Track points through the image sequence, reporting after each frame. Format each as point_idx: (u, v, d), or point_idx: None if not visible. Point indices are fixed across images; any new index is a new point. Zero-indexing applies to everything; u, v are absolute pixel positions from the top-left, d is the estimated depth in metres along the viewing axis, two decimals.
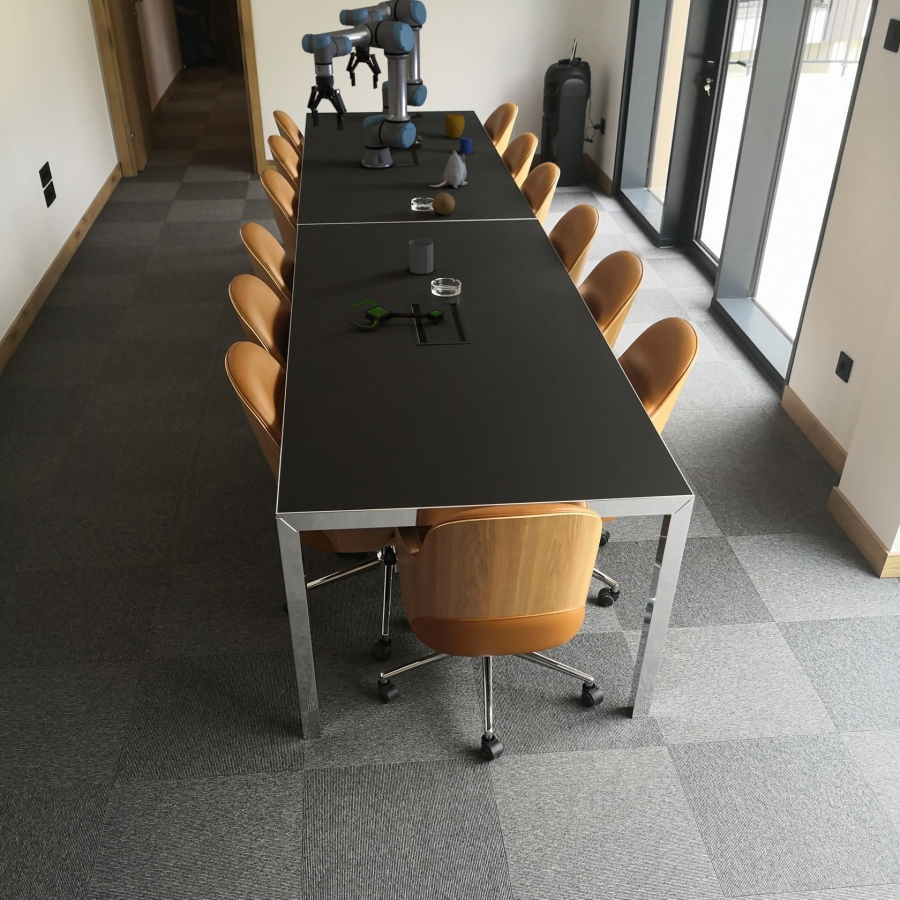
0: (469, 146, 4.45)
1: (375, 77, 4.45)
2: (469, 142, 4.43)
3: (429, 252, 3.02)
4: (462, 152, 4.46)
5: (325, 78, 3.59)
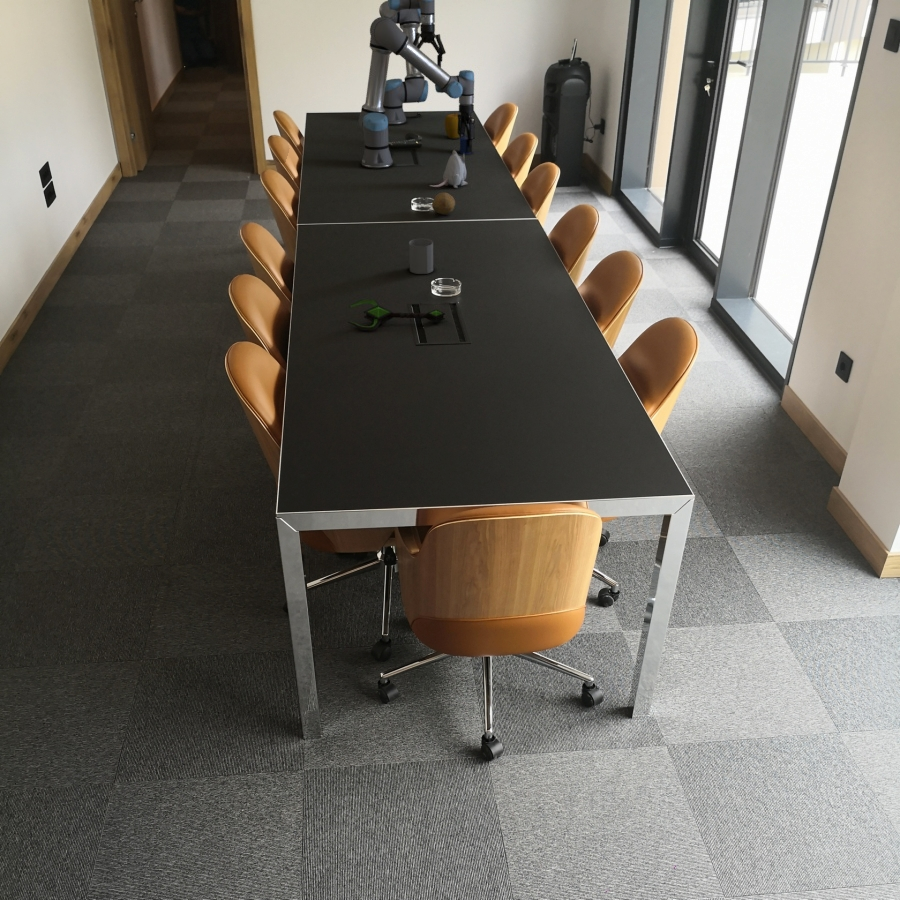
0: None
1: (439, 57, 4.58)
2: None
3: (429, 252, 3.02)
4: (462, 152, 4.46)
5: None
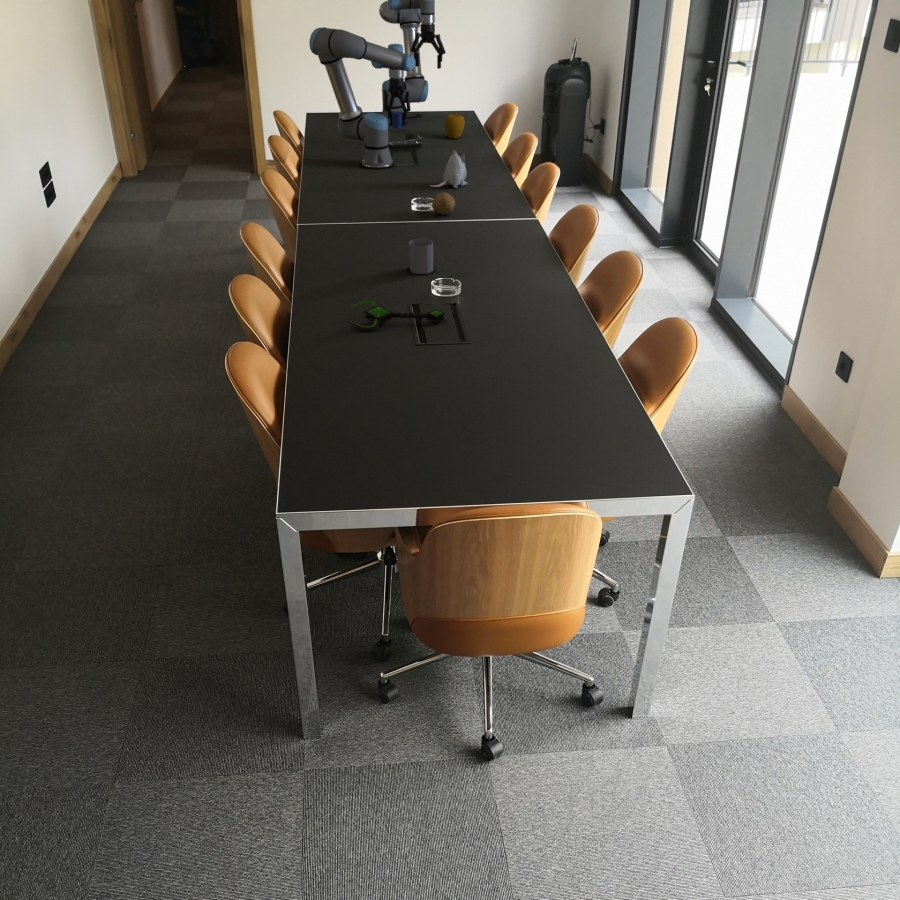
0: None
1: (439, 57, 4.58)
2: None
3: (429, 252, 3.02)
4: (398, 126, 4.48)
5: None
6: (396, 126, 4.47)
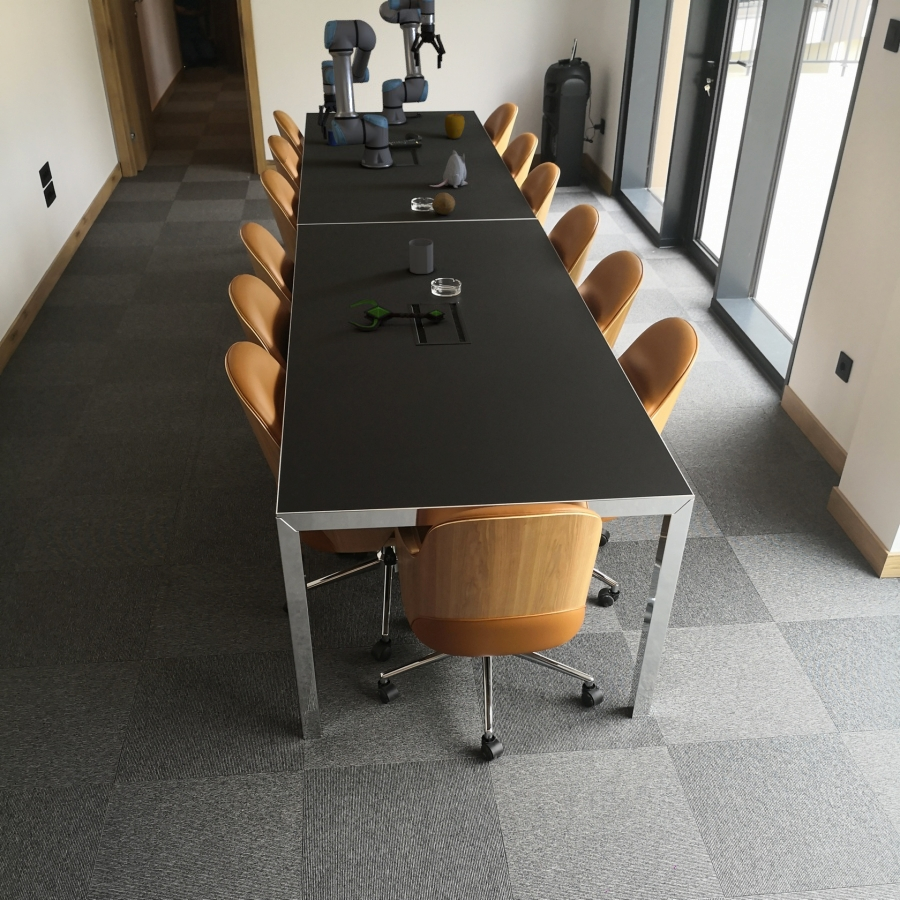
0: None
1: (439, 57, 4.58)
2: None
3: (429, 252, 3.02)
4: None
5: None
6: (336, 143, 4.61)
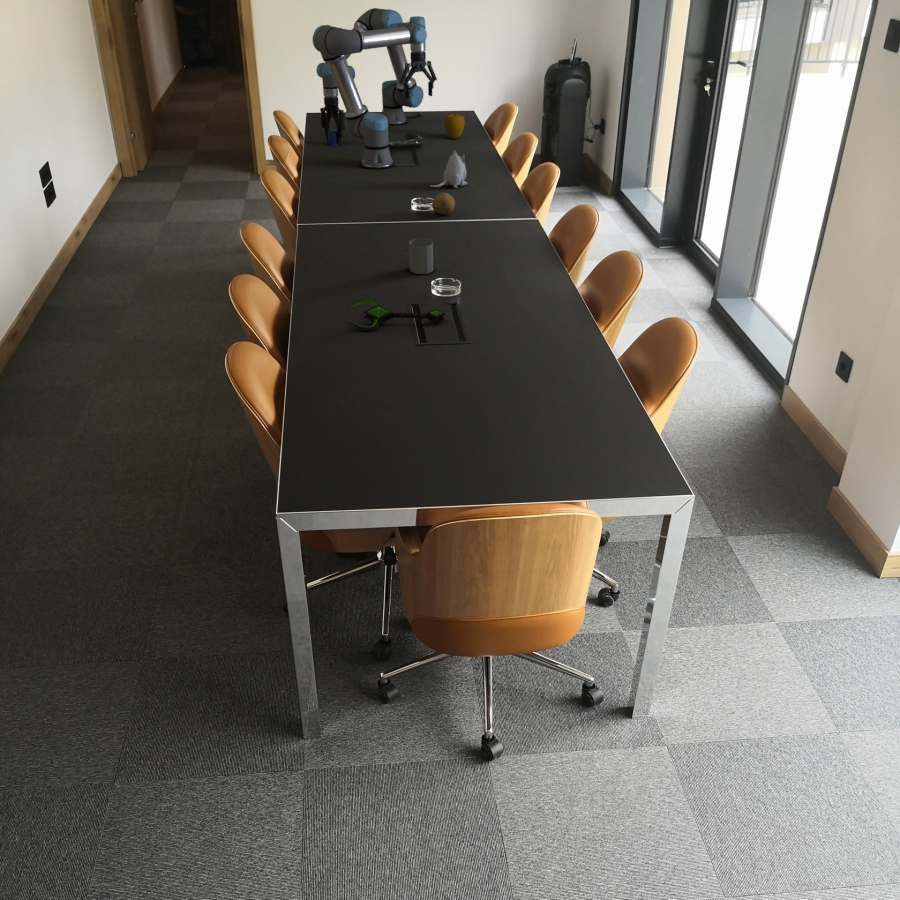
0: None
1: (339, 133, 4.58)
2: None
3: (429, 252, 3.02)
4: None
5: None
6: (336, 143, 4.61)
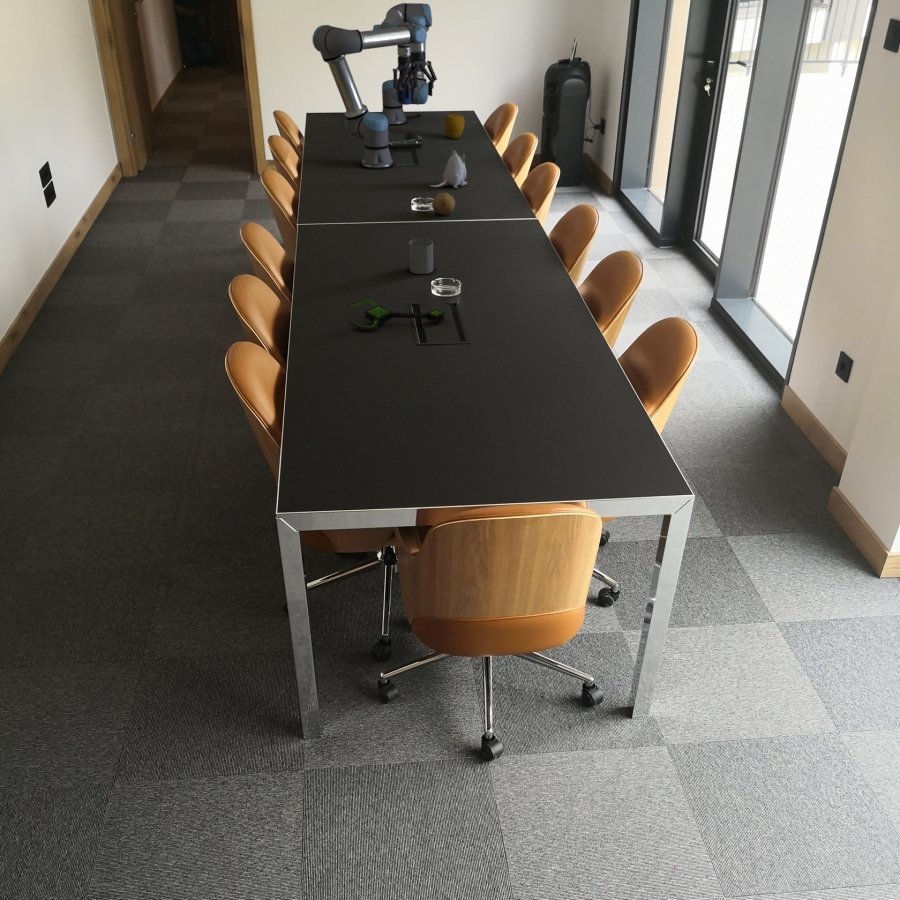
0: None
1: (413, 90, 4.69)
2: None
3: (429, 252, 3.02)
4: None
5: None
6: None
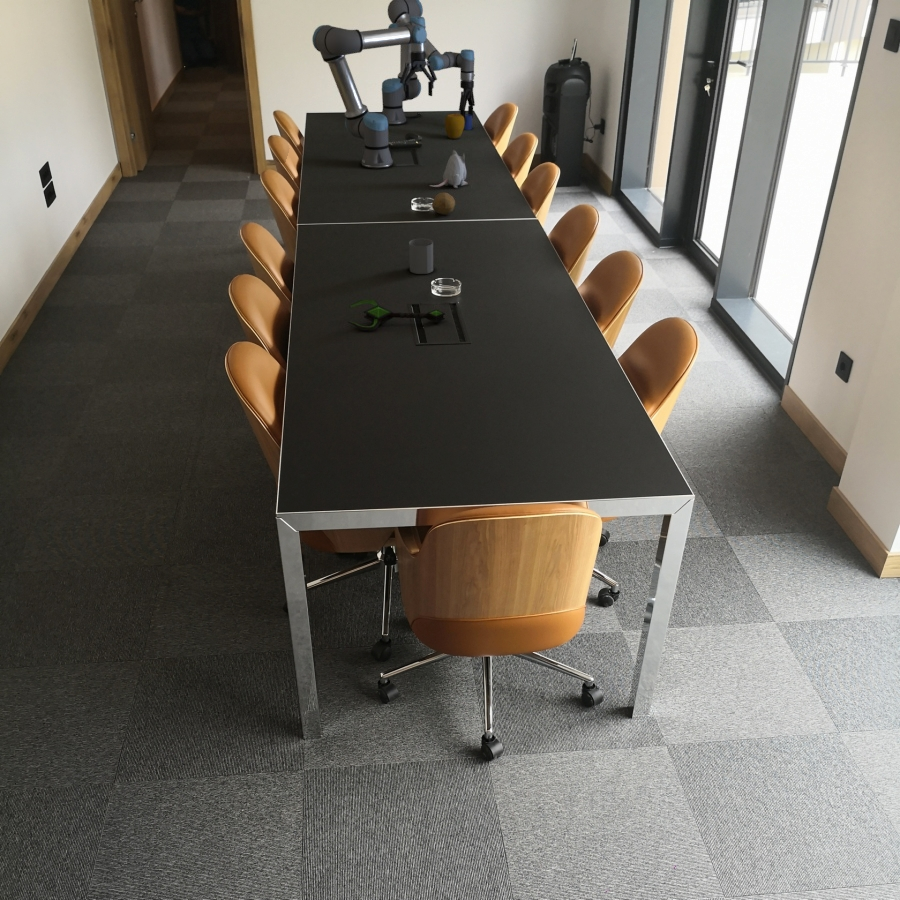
0: None
1: None
2: None
3: (429, 252, 3.02)
4: None
5: None
6: None
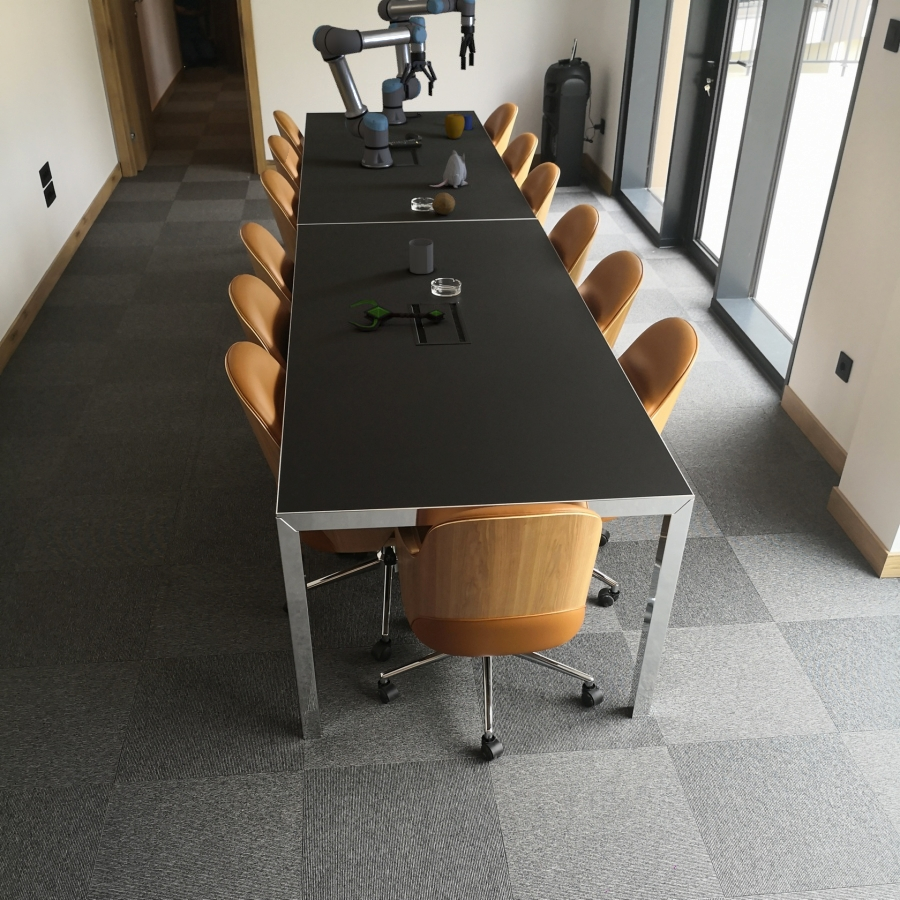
0: None
1: None
2: None
3: (429, 252, 3.02)
4: None
5: None
6: None
